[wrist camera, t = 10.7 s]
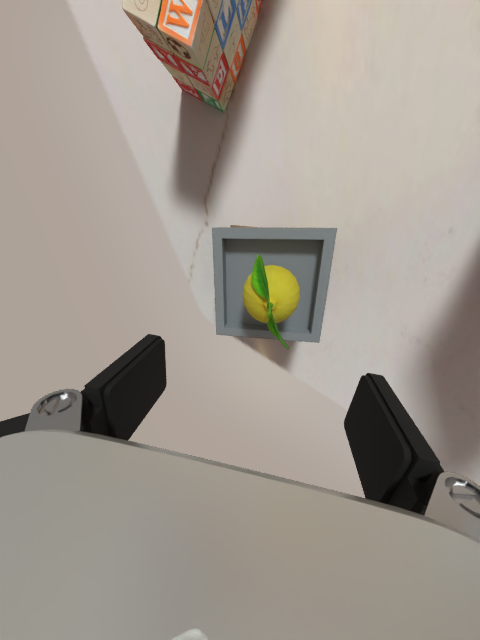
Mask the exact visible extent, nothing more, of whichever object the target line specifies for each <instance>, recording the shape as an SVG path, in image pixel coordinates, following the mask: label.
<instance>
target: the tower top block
mask: <svg viewBox="0 0 480 640" xmlns="http://www.w3.org/2000/svg"><path fill="white" fill-rule="evenodd" d="M336 232H337V228H212V238H213V262H214V286H215V310H216V334H218V335H228V336H241V337H254V338H266V339H277V338H276V337H275V336H274V335H273V334H272V333H271V332H270V330H269V329H268V326H267V323H263V322H260V321H258V320H256V319H254V318H253V317H252V316H251V315H250V314H249V313H248V311H247V309H246V307H245V305H244V302H243V295H242V294H243V288H244V284H245V282H246V280H247V278H248V276H249V275H250V274H251V273H252V270H253V267H254V263H255V260H256V257H257V254H259V255H260V256H261V257H262V259H263V262H264V266H267V265H276V266H281V267H283V268H285V269H287V270H289V271H290V272H291V273H292V274H293V275H294V276H295V277H296V280H297V282H298V285H299V289H300V298H299V302H298V306H297V308H296V309H295V311H294V312H293V314H292V315H291V316H289V317H288V318H287V319H286V320H284V321H281V322H279V323H276V325H277V328H278V331H279V333H280V335H281V337H282V339H283V340H291V341H304V342H317V343H319V341H320V335H321V328H322V322H323V316H324V309H325V303H326V296H327V290H328V283H329V277H330V271H331V264H332V258H333V251H334V245H335V238H336Z"/></svg>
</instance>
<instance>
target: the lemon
mask: <svg viewBox="0 0 480 640" xmlns="http://www.w3.org/2000/svg"><path fill="white" fill-rule="evenodd" d="M242 295H243V302H244V305H245V307H246V309H247V311H248V313H249V314H250V315H251V316H252V317H253V318H254V319H256V320H258V321H260V322H263V323H267V326H268V329H269V330H270V332H271V333H272V334H273V335H274V336H275V337H276V338H277V339H279V340H280V341H281V342H282V344H283V345H284V346H285V347H286V348H287V349H289V347H288V346H287V345H286V343H285V342H284V340H283V339H282V337H281V335H280V333H279V331H278V328H277V325H276V323H279V322H281V321H284V320H286V319H287V318H288V317H289V316H291V315H292V314H293V312H294V311H295V309H296V308H297V306H298V302H299V298H300V289H299V285H298V282H297V280H296V277H295V276H294V275H293V274H292V273H291V272H290V271H289V270H287V269H285V268H283V267H281V266H276V265H267V266H264V262H263V259H262V257H261V256H260V255H259V254H257V257H256V260H255V263H254V267H253V270H252V273H251V274H250V275H249V276H248V278H247V280H246V282H245V284H244V288H243V294H242Z"/></svg>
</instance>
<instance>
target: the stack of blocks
mask: <svg viewBox="0 0 480 640" xmlns="http://www.w3.org/2000/svg"><path fill="white" fill-rule="evenodd" d="M262 1H263V0H123V3H122V8H123V10H124V12H125V13H126V14H127V16H128V17H129V18H130V20H131V21H132V22H133V24H134V25H135V26H136V28H137V29H138V30H139V32H140V33H141V34H142V35H143V39H144V41H145V42H146V43H147V45H148V46H149V47H150V49H151V50H152V51H153V53H154V54H155V55H156V57H157V58H158V59H159V60H160V61H161V62H162V64H163V65H164V66H165V67H166V69H167V70H168V71H169V72H170V74H171V75H172V77H173V78H174V80H175V81H176V82H177V83H178V85H179V86H180V88H181V89H182V90H183V91H185V92H187V93H189V94H191V95H192V96H194V97H196V98H198V99H200V100H202V101H204V102H206V103H208V104H210V105H212V106H213V107H215V108H217V109H219V110H220V111H222V112H225V110H226V107H227V104H228V101H229V98H230V95H231V92H232V89H233V87H234V84H235V83H236V80H237V77H238V74H239V71H240V68H241V65H242V63H243V60H244V57H245V54H246V51H247V48H248V45H249V43H250V40H251V37H252V34H253V31H254V28H255V25H256V22H257V18H258V13H259V11H260V7H261V4H262Z"/></svg>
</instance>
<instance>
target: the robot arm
mask: <svg viewBox="0 0 480 640" xmlns="http://www.w3.org/2000/svg"><path fill="white" fill-rule="evenodd" d="M165 387H166V362H165V342H164V340H162V338H161V337H160V336H156V335H151V334H148V335H147V336H145V338H143V339H142V340H140V341H139V342H138V343H137V344H135V345H134V346H133V347H132V348H131V349H129V350H128V351H127V352H126V353H124V354H123V355H122V356H121V357H120V358H118V359H117V360H116V361H114V362H113V363H112V364H111V365H110V366H109V367H107V368H106V369H105V370H103V371H102V372H101V373H100V374H98V375H97V376H96V377H95V378H94V379H92V380H91V381H90V382H89V383H87V384H86V385H85V389H84V390H82V391H81V392H79V391H78V390H75V389H64V390H59V391H55V392H52V393H50V394H48V395H45V396H44V397H42V398H41V399H39V400H38V401H37V402H36V403H35V404H34V405H33V407H32V409H31V412H30V413H28V414H25V415H22V416H18V417H15V418H11V419H8V420H4V421H1V422H0V640H480V486H479V485H477V484H476V483H474V482H473V481H471V480H469V479H468V478H466V477H464V476H462V475H459V474H456V473H453V472H444V470H443V469H442V467H441V466H440V461H439V460H438V458H437V457H436V455H435V454H434V452H433V451H432V449H431V448H430V446H429V445H428V443H427V442H426V440H425V439H424V437H423V436H422V434H421V432H420V431H419V429H418V428H417V426H416V425H415V423H414V422H413V420H412V419H411V417H410V416H409V414H408V413H407V411H406V410H405V408H404V407H403V405H402V404H401V402H400V401H399V399H398V398H397V396H396V395H395V393H394V392H393V390H392V389H391V387H390V386H389V384H388V382H387V381H386V379H385V378H384V377H383V376H382V375H376V374H371V373H367V374H366V375H365V376H364V375H363V376H362V377H361V378H360V381H359V384H358V386H357V389H356V391H355V394H354V397H353V399H352V402H351V404H350V407H349V410H348V412H347V415H346V418H345V421H344V428H345V431H346V435H347V438H348V441H349V445H350V448H351V451H352V455H353V458H354V461H355V464H356V468H357V471H358V474H359V478H360V481H361V484H362V488H363V491H364V494H365V498H366V499H365V498H361V497H358V496H354V495H350V494H346V493H342V492H338V491H334V490H330V489H326V488H322V487H318V486H314V485H310V484H306V483H302V482H298V481H294V480H290V479H286V478H282V477H278V476H274V475H270V474H265V473H261V472H257V471H253V470H249V469H245V468H241V467H237V466H233V465H228V464H225V463H220V462H216V461H212V460H208V459H204V458H200V457H196V456H191V455H187V454H182V453H179V452H174V451H170V450H166V449H162V448H157V447H153V446H149V445H145V444H141V443H136V442H132V441H128V440H129V438H130V437H131V436H132V434H133V433H134V432H135V430H136V429H137V427H138V426H139V425H140V423H141V422H142V420H143V419H144V418H145V416H146V415H147V414H148V412H149V411H150V409H151V408H152V407H153V405H154V404H155V402H156V401H157V399H158V398H159V397H160V396H161V394H162V393H163V391H164V390H165Z"/></svg>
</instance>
